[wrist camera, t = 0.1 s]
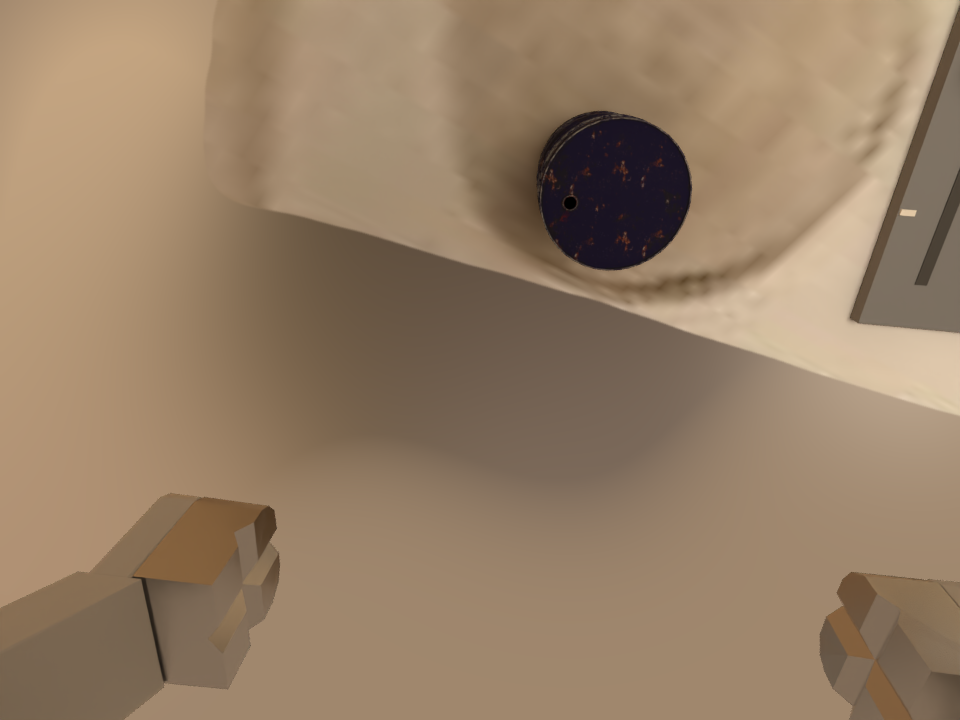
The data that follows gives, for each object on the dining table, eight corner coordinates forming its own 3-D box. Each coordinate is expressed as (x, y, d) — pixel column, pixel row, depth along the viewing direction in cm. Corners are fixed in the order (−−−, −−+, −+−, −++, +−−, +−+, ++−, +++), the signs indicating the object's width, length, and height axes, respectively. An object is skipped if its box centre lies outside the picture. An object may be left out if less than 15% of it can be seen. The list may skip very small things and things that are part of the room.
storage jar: (651, 102, 49) (696, 105, 36) (652, 221, 53) (693, 264, 39) (531, 118, 50) (530, 127, 37) (541, 233, 54) (543, 279, 41)
